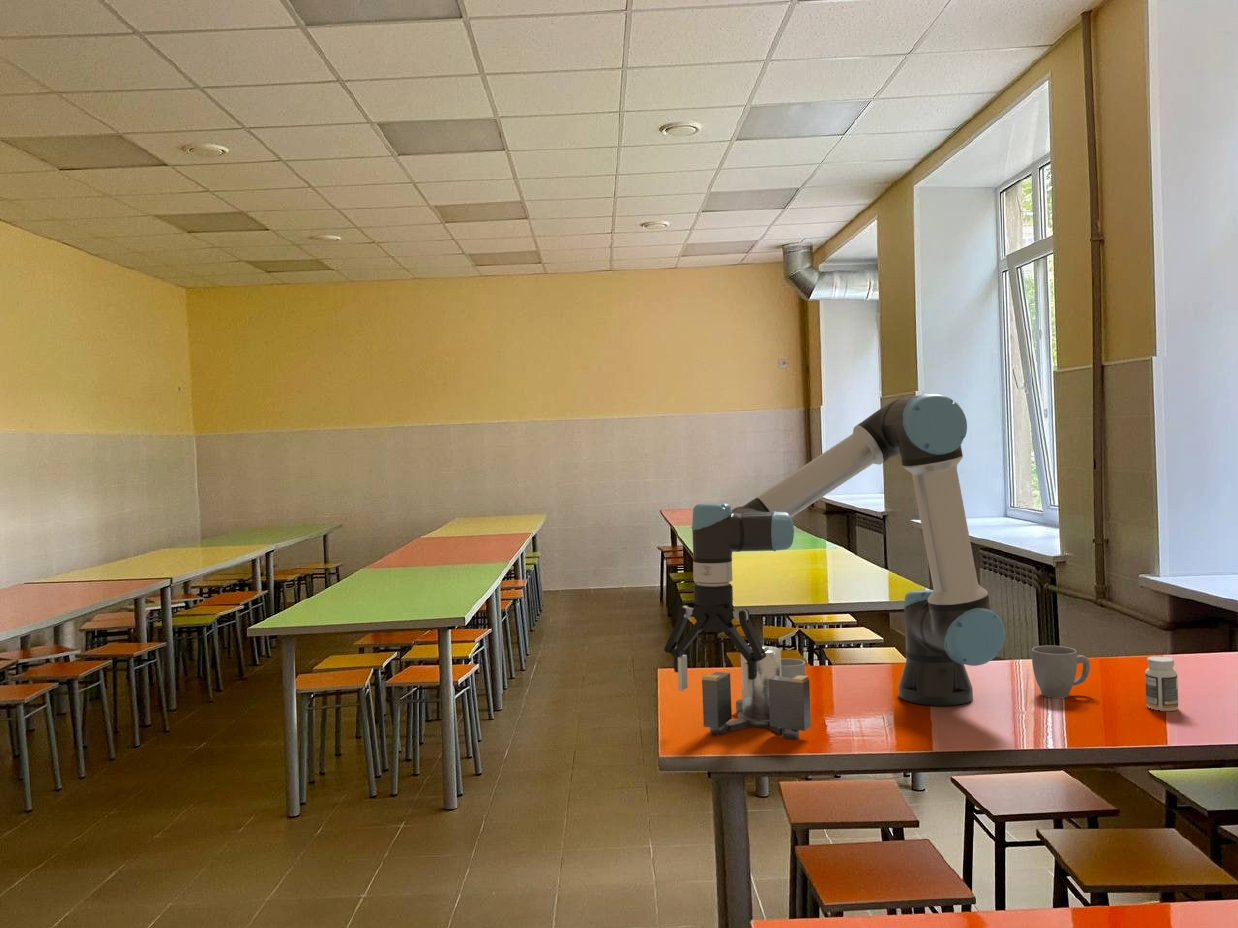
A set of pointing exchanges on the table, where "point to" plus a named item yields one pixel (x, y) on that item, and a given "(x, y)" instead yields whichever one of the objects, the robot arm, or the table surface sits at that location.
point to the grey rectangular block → (790, 704)
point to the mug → (1058, 669)
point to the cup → (792, 667)
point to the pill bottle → (1161, 684)
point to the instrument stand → (758, 694)
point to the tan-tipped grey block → (716, 702)
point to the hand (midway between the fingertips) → (715, 692)
